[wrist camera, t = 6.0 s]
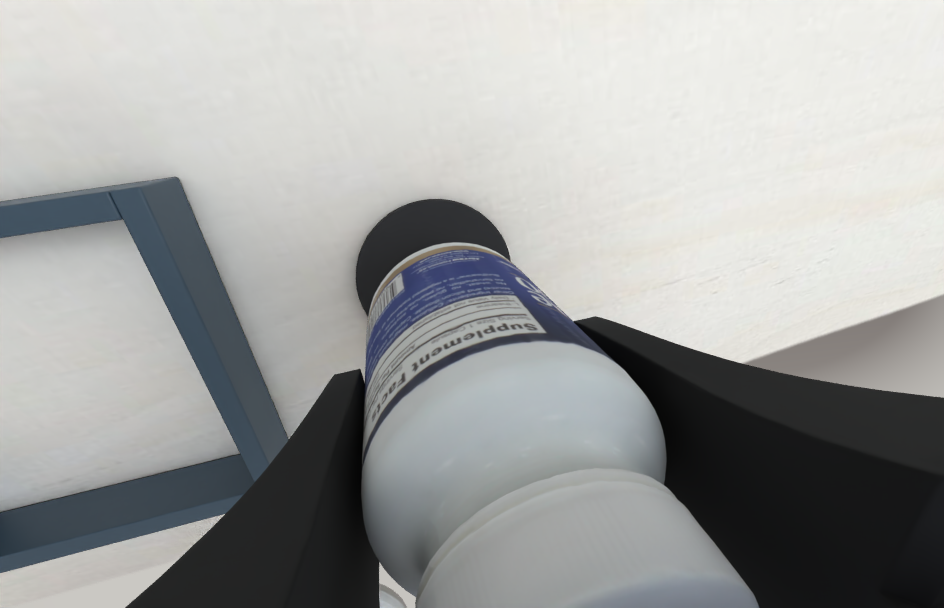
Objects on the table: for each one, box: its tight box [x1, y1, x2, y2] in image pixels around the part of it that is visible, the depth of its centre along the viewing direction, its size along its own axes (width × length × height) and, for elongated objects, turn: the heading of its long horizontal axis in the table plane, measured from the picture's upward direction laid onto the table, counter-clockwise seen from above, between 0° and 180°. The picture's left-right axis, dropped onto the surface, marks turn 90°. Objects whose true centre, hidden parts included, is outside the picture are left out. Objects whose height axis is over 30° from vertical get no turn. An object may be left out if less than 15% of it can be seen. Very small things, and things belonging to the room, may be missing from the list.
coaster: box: [356, 199, 511, 316], centre depth 17 cm, size 6×6×1 cm
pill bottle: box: [361, 243, 759, 608], centre depth 9 cm, size 5×5×10 cm
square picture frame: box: [0, 177, 289, 573], centre depth 14 cm, size 13×13×2 cm
